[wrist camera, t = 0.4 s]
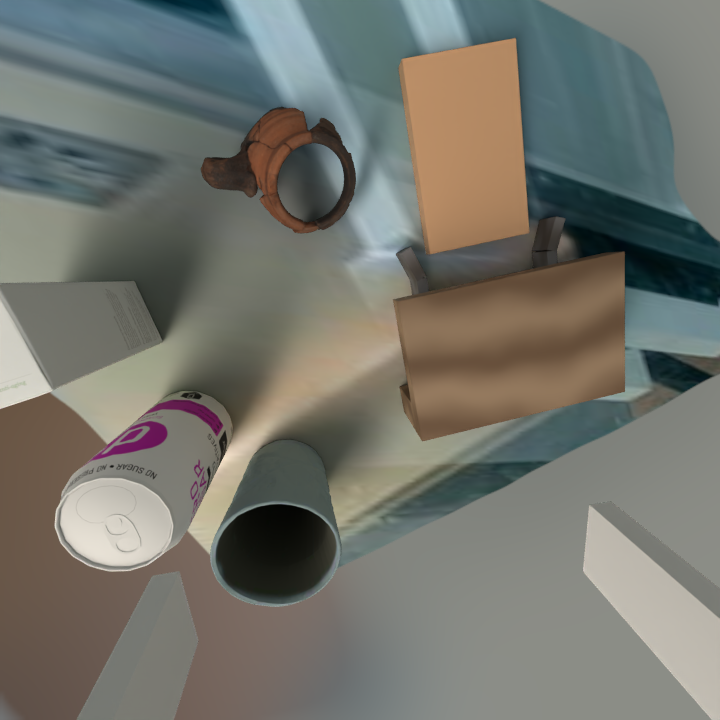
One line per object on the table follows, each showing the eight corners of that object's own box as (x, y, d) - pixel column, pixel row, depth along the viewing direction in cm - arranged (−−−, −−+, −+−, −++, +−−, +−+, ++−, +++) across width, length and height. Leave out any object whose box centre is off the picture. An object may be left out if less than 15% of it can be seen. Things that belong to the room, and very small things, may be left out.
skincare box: (83, 367, 34) (-96, 444, 19) (47, 301, 33) (-181, 330, 18) (168, 341, 35) (55, 396, 20) (137, 274, 33) (-13, 279, 18)
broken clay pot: (323, 97, 32) (363, 106, 26) (332, 208, 38) (367, 234, 32) (180, 111, 28) (190, 124, 22) (216, 230, 34) (231, 264, 29)
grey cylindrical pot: (223, 457, 38) (183, 539, 27) (307, 415, 38) (303, 479, 27) (271, 526, 41) (253, 627, 30) (349, 487, 41) (362, 573, 30)
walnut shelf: (375, 254, 35) (389, 251, 28) (567, 214, 36) (624, 201, 29) (404, 411, 40) (422, 441, 33) (573, 371, 41) (624, 391, 34)
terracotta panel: (397, 71, 32) (402, 58, 30) (504, 51, 32) (515, 37, 30) (424, 254, 36) (430, 254, 34) (518, 234, 37) (529, 233, 35)
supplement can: (137, 402, 36) (17, 492, 21) (218, 379, 36) (152, 452, 22) (170, 470, 38) (80, 594, 24) (245, 448, 38) (202, 556, 24)
